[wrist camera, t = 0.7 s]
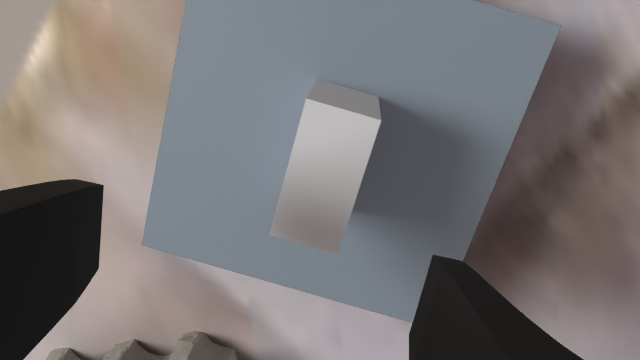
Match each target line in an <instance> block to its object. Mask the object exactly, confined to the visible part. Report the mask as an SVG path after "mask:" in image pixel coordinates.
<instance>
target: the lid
mask: <svg viewBox="0 0 640 360" xmlns="http://www.w3.org/2000/svg"><path fill="white" fill-rule="evenodd" d="M560 27H561V26H560V25H556V24H553V23H549V22H546V21H543V20H539V19H536V18H533V17H529V16H526V15H523V14H519V13H516V12H512V11H509V10H506V9H502V8H499V7H496V6H492V5H489V4H486V3H482V2H479V1H475V0H186V4H185V9H184V15H183V20H182V26H181V31H180V37H179V42H178V48H177V53H176V59H175V64H174V70H173V75H172V81H171V86H170V92H169V97H168V103H167V108H166V114H165V119H164V125H163V130H162V136H161V141H160V147H159V152H158V158H157V163H156V169H155V174H154V180H153V185H152V191H151V196H150V202H149V207H148V213H147V218H146V224H145V229H144V235H143V240H142V245H143V246H146V247H150V248H153V249H157V250H160V251H164V252H167V253H171V254H174V255H178V256H181V257H185V258H188V259H192V260H195V261H199V262H202V263H206V264H209V265H212V266H216V267H219V268H223V269H226V270H230V271H233V272H237V273H240V274H244V275H247V276H251V277H254V278H258V279H261V280H265V281H268V282H272V283H275V284H279V285H282V286H286V287H289V288H293V289H296V290H300V291H303V292H306V293H310V294H313V295H317V296H320V297H324V298H327V299H331V300H334V301H338V302H341V303H345V304H348V305H352V306H355V307H359V308H362V309H366V310H369V311H373V312H376V313H380V314H383V315H387V316H390V317H394V318H397V319H401V320H404V321H407V322H411V323H413V320H414V316H415V313H416V310H417V306H418V303H419V299H420V296H421V293H422V289H423V286H424V283H425V279H426V276H427V272H428V269H429V266H430V262H431V259H432V255H437V256H442V257H447V258H451V259H456V260H461V261H463V260H464V257H465V255H466V253H467V250H468V248H469V245H470V243H471V241H472V238H473V236H474V233H475V231H476V229H477V226H478V224H479V221H480V219H481V217H482V214H483V212H484V209H485V207H486V205H487V202H488V200H489V197H490V195H491V193H492V190H493V188H494V185H495V183H496V181H497V178H498V176H499V174H500V171H501V169H502V166H503V164H504V162H505V159H506V157H507V154H508V152H509V150H510V147H511V145H512V142H513V140H514V138H515V135H516V133H517V130H518V128H519V126H520V123H521V121H522V118H523V116H524V114H525V111H526V109H527V106H528V104H529V102H530V99H531V97H532V95H533V92H534V90H535V87H536V85H537V83H538V80H539V78H540V75H541V73H542V71H543V68H544V66H545V63H546V61H547V59H548V56H549V54H550V51H551V49H552V47H553V44H554V42H555V39H556V37H557V35H558V32H559V30H560Z"/></svg>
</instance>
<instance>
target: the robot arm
mask: <svg viewBox="0 0 640 360" xmlns="http://www.w3.org/2000/svg"><path fill="white" fill-rule="evenodd" d="M103 186H104V185H101V184H96V183H91V182H86V181H82V180H77V179H71V180H59V181H51V182H45V183H39V184H34V185H28V186H23V187H18V188H13V189H8V190H2V191H0V360H23V359H24V358H25V357H26V356H27V355H28V354H29V353H30V352H31V351H32V350H33V348H34V347H35V346H36V345H37V344H38V343H39V342H40V341H41V340H42V339H43V338H44V337H45V336H46V335H47V334H48V332H49V331H50V330H51V329H52V328H53V327H54V326H55V325H56V324H57V323H58V322H59V320H60V319H61V318H62V317H63V316H64V315H65V314H66V313H67V312H68V311H69V309H70V308H71V307H72V306H73V305H74V304H75V303H76V301H77V300H78V298H79V297H80V296H81V294H82V293H83V291H84V290H85V288H86V287H87V285H88V284H89V282H90V281H91V279H92V278H93V276H94V275H95V273H96V272H97V270H98V269H99V253H100V237H101V220H102V203H103ZM409 360H583V359H582V358H580V357H579V356H577V355H576V354H574V353H573V352H571V351H570V350H568V349H567V348H566V347H564V346H563V345H562V344H560V343H559V342H557V341H556V340H555V339H553V338H552V337H551V336H550V335H548V334H547V333H546V332H545V331H543V330H542V329H541V328H540V327H538V326H537V325H536V324H535V323H533V322H532V321H531V320H530V319H528V318H527V317H526V316H525V315H524V314H523V313H521V312H520V311H519V310H518V309H517V308H516V307H514V306H513V305H512V304H511V303H510V302H509V301H508V300H506V299H505V298H504V297H503V296H502V295H501V294H500V293H499V292H498V291H496V290H495V289H494V288H493V287H492V286H491V285H490V284H489V283H488V282H487V281H486V280H484V279H483V278H482V277H481V276H480V275H479V274H478V273H477V272H475V271H474V270H473V269H472V268H471V267H469V266H468V265H467V264H466V263H464V262H463V261H461V260H456V259H451V258H447V257H442V256H437V255H432V259H431V262H430V266H429V269H428V272H427V276H426V279H425V283H424V286H423V289H422V293H421V296H420V299H419V303H418V306H417V310H416V313H415V316H414V320H413V323H412V327H411V330H410V333H409Z"/></svg>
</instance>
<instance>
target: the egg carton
mask: <svg viewBox="0 0 640 360" xmlns="http://www.w3.org/2000/svg"><path fill="white" fill-rule="evenodd" d="M46 360H81V359H80V358H79V357H77V356H76V355H75V354H74V353H73V352H72V350H71V349H70V348H59V349H55V350H52V351H51V352H50V353H49V355H48V357H47V359H46ZM103 360H237V357H236V352H235V350H234V349H233V348H228V347H224V346H220V345H217V344H215V343H214V342H212V341H211V340H210V339H209V338H208V337H207V336H206V334H205V333H203V332H189V333H184V334H182V336H181V338H180V339H178V340H176V345H175V348H174V350H173V352H172V353H171V354H168V355H164V356H162V355H155V354H152V353H150V352H147V351H146V350H144V349H143V348H142V347H141V346H140V345H139V344H138V343H137V341H136V340H135V339H133V340H129V341H126V342H123V343H120V344H116V345H115V346H114V348H113V349H112V350H111V351H109V352H107V353H106V354H105V356H104V358H103Z"/></svg>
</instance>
